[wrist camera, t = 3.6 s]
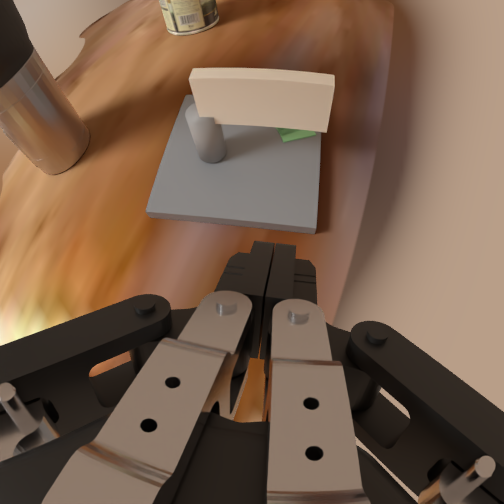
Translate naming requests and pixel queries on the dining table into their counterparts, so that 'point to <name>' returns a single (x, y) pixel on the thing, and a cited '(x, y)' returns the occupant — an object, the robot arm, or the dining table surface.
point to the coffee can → (189, 15)
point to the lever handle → (255, 103)
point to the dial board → (241, 178)
